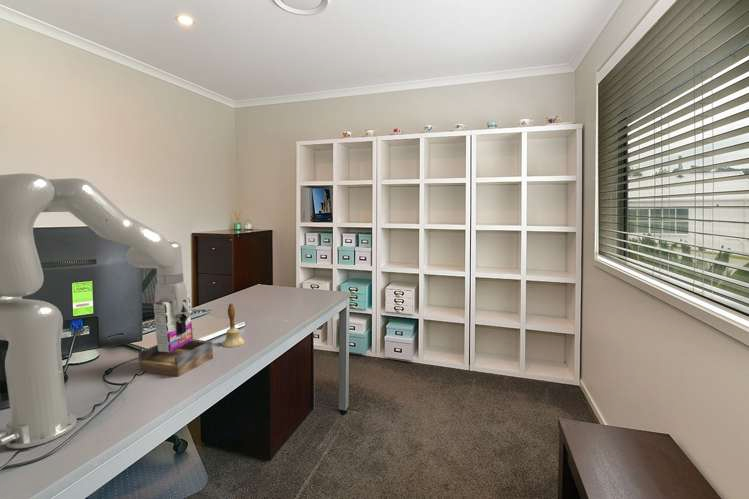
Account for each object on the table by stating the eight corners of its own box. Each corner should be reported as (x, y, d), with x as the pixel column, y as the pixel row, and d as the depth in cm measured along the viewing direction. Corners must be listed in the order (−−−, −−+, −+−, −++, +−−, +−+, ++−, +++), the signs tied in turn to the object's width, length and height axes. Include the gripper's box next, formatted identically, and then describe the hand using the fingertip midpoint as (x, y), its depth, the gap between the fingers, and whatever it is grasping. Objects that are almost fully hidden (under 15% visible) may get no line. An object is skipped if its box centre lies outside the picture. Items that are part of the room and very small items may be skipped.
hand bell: (237, 348, 138) (235, 306, 136) (217, 347, 139) (215, 306, 138) (248, 340, 146) (246, 301, 145) (229, 339, 148) (227, 300, 146)
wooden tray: (178, 376, 115) (177, 358, 114) (139, 370, 120) (138, 352, 119) (213, 358, 129) (212, 341, 128) (177, 353, 134) (176, 337, 133)
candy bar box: (181, 340, 129) (177, 294, 127) (193, 340, 128) (190, 295, 126) (156, 352, 118) (152, 302, 116) (169, 353, 117) (165, 303, 115)
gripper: (140, 280, 120) (145, 333, 122) (181, 283, 114) (185, 339, 116) (160, 276, 127) (164, 326, 129) (200, 278, 121) (203, 331, 123)
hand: (174, 332), depth 122 cm, fingers closed on candy bar box, 5 cm apart
